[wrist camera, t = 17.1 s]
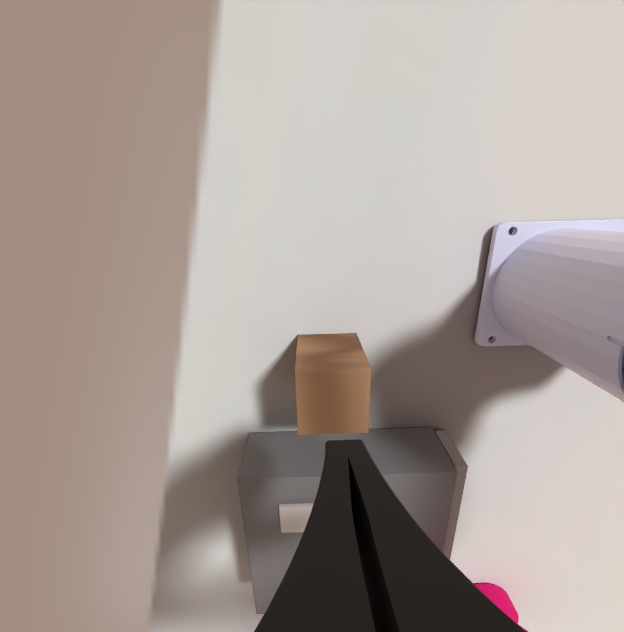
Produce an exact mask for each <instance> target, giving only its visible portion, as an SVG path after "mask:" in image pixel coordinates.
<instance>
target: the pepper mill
mask: <svg viewBox="0 0 624 632" xmlns="http://www.w3.org/2000/svg"><path fill="white" fill-rule="evenodd" d="M474 585H475V586H476V587H477V588H478V589H479V590H480V591H481V592H482V593H483V594H484V595H485V596H487V597H488V598H489V599H490V600H491V601H492V602H493V603H494V604H495V605H496V606H497V607H498V608H499V609H501V610H502V611H503V612H504V613H505V614H506V615H507V616H508V617H510V618H511V619H512V620H513V621H514V622H515V623H516V624H517V623H518V613H517V611H516V610H515V608H514V606H513V604H512V602H511V600H510V598H509V596H508V594H507V593H506V591H504V590H503V589H502V588H501V587H499V586H497V585H494V584H489V583H478V584H474ZM519 626H520V625H519ZM520 627H521V626H520ZM521 628H522V627H521ZM522 629H523V630H525V629H524V628H522ZM525 631H526V632H528V631H527V630H525Z"/></svg>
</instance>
